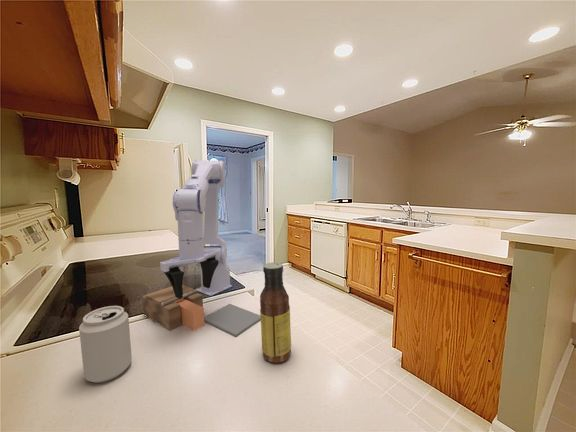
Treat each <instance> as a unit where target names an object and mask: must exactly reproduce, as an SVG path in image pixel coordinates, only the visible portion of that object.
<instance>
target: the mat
mask: <svg viewBox="0 0 576 432" xmlns="http://www.w3.org/2000/svg"><path fill="white" fill-rule="evenodd" d="M259 322H261V317H260V314H258V313H255V312H252V311H250V310H247V309H245V308H242V307H239V306H237V305H234V304H232V303H228V304H226V305H224V306H222V307H220V308H219V309H217V310H214V311H212V312H211V313H209V314H207V315H204V323H207V324H208V325H210V326H213V327H215V328H216V329H219V330H221V331H222V332H225V333H226V334H229V335H231V336H233V337H235V338H237V337H238V336H240V335H241V334H243V333H244V332H246V331H248V330H249V329H250V328H251V327H253V326H254V325H256V324H258V323H259Z"/></svg>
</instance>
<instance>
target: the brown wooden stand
mask: <svg viewBox="0 0 576 432" xmlns="http://www.w3.org/2000/svg"><path fill="white" fill-rule="evenodd" d="M182 288H183V297H182V298H183V299H186V300H188V301H190V302H192V303H195V304H197V305H199V306H201V307H204V304H203V303H204V301H203V299H204V298H203V294H201V293H198V291H197V290H196V289H197V288H195V289H194V288H192V287H189V286H186V285H185V284H182ZM182 298H181V299H182ZM177 300H179V298H177V297H175V293H174V290H173V287H172V285H170V286H169V287H165V288H163V289H159V290H157V291H153V292H150V293H148V294H145V295H142V307H143V316H144V315H146V316H147V317H146V316H145V317H146V318H148V319H150V320H151V321H153V322H154V323H156V324H158V325H160V326H161V327H163V328H165V329H166V330H169V331H172V330H174V329H176V328H178V327H180V326H182V324H181V315H180V305H179V304H177V303H175V302H174V301H177Z"/></svg>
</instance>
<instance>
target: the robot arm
mask: <svg viewBox="0 0 576 432" xmlns="http://www.w3.org/2000/svg"><path fill="white" fill-rule="evenodd" d="M225 167H226V165H225V162H224V161H223V160H197V159H194V160H193V161H192V162H191V176H189V177H188V178H187V180H186V181H185V184H183V187H182V188H180V189H177V191H174V192H173V194H172V207H173V211H174V216H175V217H174V218H175V221H177V233H178V234H177V236H178V256H176V257H172V258H169V259H167V260H164V261H160V262H159V263H160V271H161V272H163V273H164V275H165V276H166V277H167V279H168V282H169V283H170V284H171V285H170V286H172V287H173V290H174V293H175V297H177V298H179V299H181V298H182V297H183V288H182V285H184V284H183V282H184V275H185V272H184V271H183V270H181V268H182V267H186V266H189V265H194V264H197V265H198V266H199V268H200V284H201V285H200V287H198V288H195V289H196V290H197V292H199V293H200V294H201V293H202V294H204V295H206V296H209V297H212V296H214V295H216V294H219V293H221V292H223V291H225V290H227V289H230V288H232V287H233V285H232V284H231V269H230V265H229V264H228V263H227V258H228V251H227V250H228V249H227V242H226V240H225V239H224V238H222V237H220V236H219V193H220V189H221V188H223V187H225V184H226V183H225V182H226V168H225Z"/></svg>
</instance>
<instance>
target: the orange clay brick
mask: <svg viewBox="0 0 576 432" xmlns="http://www.w3.org/2000/svg"><path fill="white" fill-rule="evenodd" d="M174 302H175V303H177V304H179V305H180V315H181V325H183V326H184V327H187V328H188V329H190V330H192V331H197V330H199V329H200V328H202V327H203V326H205V322H204V317H205V309H204V306H203V307H201V306H199V305H197V304H195V303H192V302H190V301H188V300H186V299H183V298H182V299H179V300H177V301H174Z"/></svg>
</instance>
